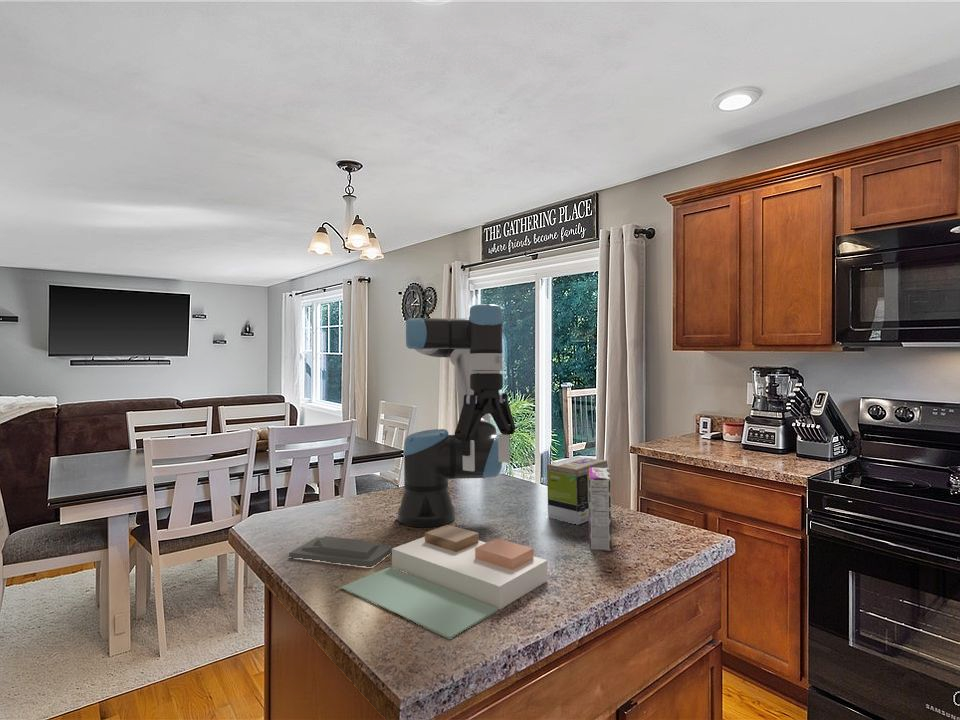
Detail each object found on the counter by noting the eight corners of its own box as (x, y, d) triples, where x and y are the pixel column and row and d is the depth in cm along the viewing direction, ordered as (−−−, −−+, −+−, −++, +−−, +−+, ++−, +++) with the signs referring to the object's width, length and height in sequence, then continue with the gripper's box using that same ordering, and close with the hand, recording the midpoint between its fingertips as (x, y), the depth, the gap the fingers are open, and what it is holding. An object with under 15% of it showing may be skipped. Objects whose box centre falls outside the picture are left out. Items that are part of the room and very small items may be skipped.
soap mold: (317, 545, 125) (316, 530, 125) (394, 554, 119) (394, 539, 118) (288, 561, 115) (288, 545, 115) (371, 573, 109) (371, 556, 109)
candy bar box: (588, 533, 130) (588, 466, 130) (609, 535, 129) (609, 467, 129) (588, 550, 119) (588, 477, 119) (611, 552, 118) (611, 478, 118)
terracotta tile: (475, 558, 104) (475, 547, 104) (497, 548, 110) (497, 538, 110) (512, 569, 99) (512, 559, 99) (533, 558, 104) (533, 548, 104)
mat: (340, 588, 100) (340, 586, 100) (390, 568, 109) (390, 566, 109) (450, 639, 82) (450, 637, 82) (498, 610, 91) (498, 608, 91)
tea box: (579, 506, 153) (579, 455, 153) (609, 513, 146) (609, 460, 146) (546, 517, 143) (546, 462, 143) (577, 526, 136) (577, 468, 136)
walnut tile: (424, 542, 113) (424, 532, 113) (447, 533, 119) (447, 524, 119) (456, 552, 108) (456, 542, 108) (478, 542, 113) (478, 533, 113)
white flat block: (392, 568, 110) (391, 548, 110) (442, 547, 121) (442, 529, 121) (499, 609, 92) (499, 586, 92) (547, 580, 103) (547, 560, 103)
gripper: (465, 372, 110) (465, 476, 109) (529, 372, 129) (530, 460, 129) (437, 372, 114) (438, 472, 113) (503, 372, 134) (504, 457, 133)
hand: (487, 466), depth 121 cm, fingers open, 13 cm apart
